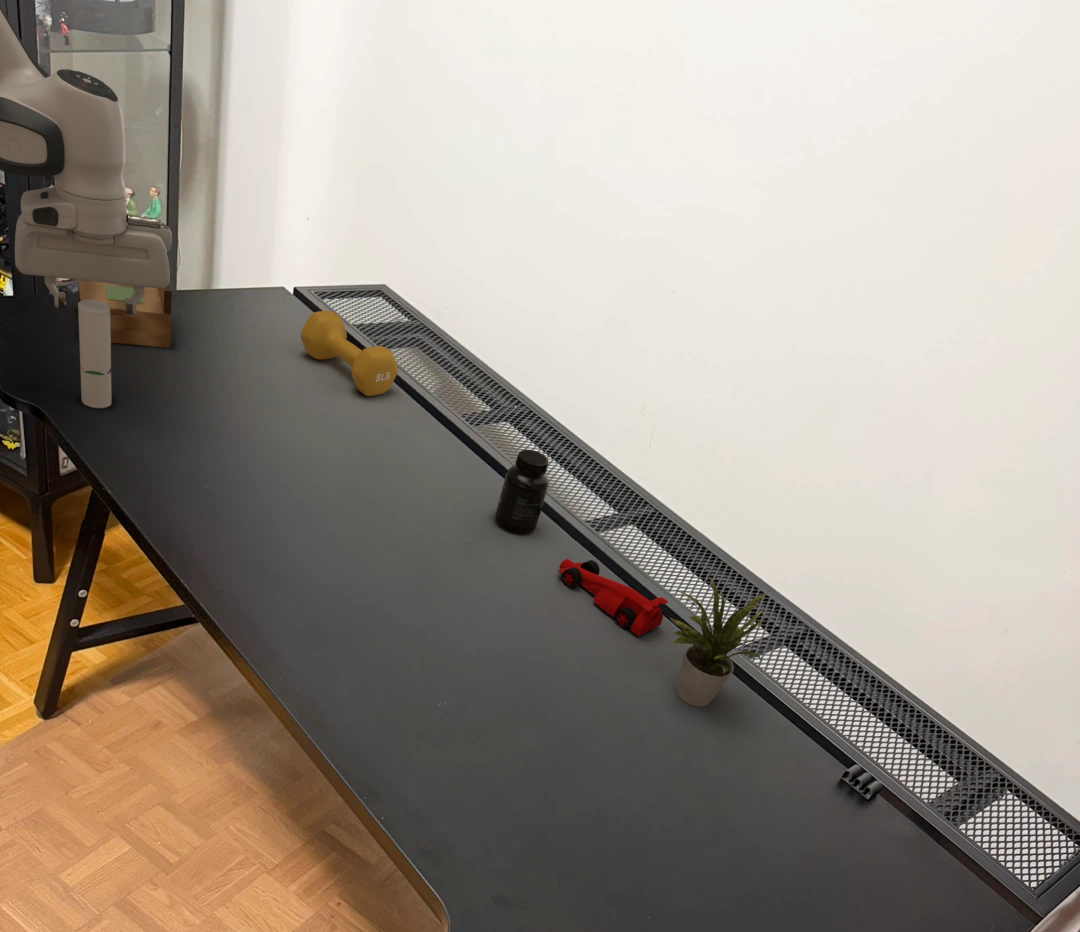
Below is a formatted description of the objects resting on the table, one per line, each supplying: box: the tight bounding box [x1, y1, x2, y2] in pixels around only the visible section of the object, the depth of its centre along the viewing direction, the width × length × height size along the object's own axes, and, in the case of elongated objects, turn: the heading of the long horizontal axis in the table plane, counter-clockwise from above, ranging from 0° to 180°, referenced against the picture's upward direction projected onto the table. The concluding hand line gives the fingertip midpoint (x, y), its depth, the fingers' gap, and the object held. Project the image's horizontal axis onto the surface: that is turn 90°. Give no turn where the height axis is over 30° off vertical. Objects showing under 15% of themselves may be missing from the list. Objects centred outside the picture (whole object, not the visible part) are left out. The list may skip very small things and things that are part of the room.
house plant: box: [669, 576, 767, 708], centre depth 137 cm, size 14×14×16 cm
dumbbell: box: [300, 310, 399, 397], centre depth 184 cm, size 19×9×8 cm, turn 47°
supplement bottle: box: [494, 449, 550, 536], centre depth 159 cm, size 7×7×12 cm
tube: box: [77, 300, 113, 409], centre depth 153 cm, size 4×4×15 cm
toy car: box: [557, 558, 669, 637], centre depth 152 cm, size 6×18×5 cm, turn 47°
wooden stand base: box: [77, 280, 173, 349], centre depth 174 cm, size 14×12×10 cm
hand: (96, 309), depth 148 cm, fingers open, 8 cm apart
